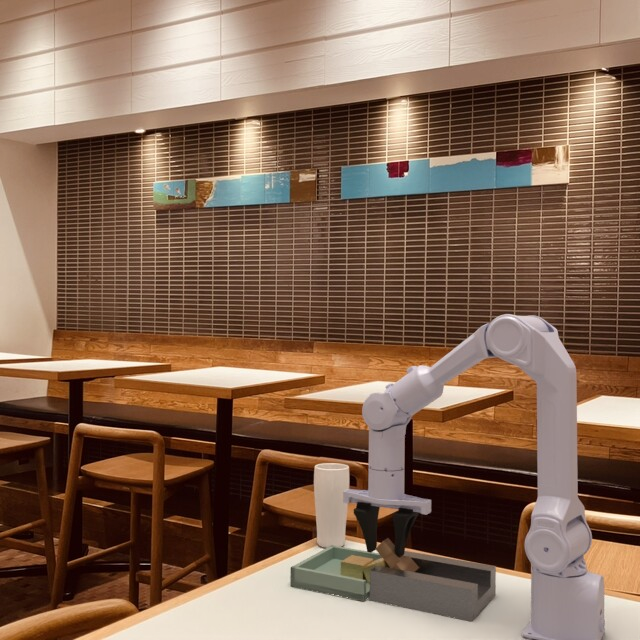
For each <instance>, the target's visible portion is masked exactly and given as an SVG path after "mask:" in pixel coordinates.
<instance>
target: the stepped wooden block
mask: <svg viewBox="0 0 640 640" xmlns="http://www.w3.org/2000/svg"><path fill="white" fill-rule="evenodd" d="M375 551H376V553H379V554H380V555H381V557H382V558H383V559H384V560H385V561H386V563H387V564H388V565H389V566H390V567H391V568H393V569H399V570H404V571H409V572H416V571H417V570H418V569H419V567H418V566H417V564H416V563H415V562H414V561H413V560H412V559H411V557H410V556H409V555H408V556H407V557H404V556H401V557H398V556H397V555H396V554H395V543H393V542H392V541H391V539H390V538H389V537H387V538H385V539H384V540H382V542H380V543H379V545H377V547H376V550H375Z"/></svg>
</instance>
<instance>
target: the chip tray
mask: <svg viewBox="0 0 640 640" xmlns="http://www.w3.org/2000/svg"><path fill="white" fill-rule="evenodd" d="M351 555H355V556H360V557H366V558H371V559H374V560H377V559H380V558H382V557H381V555H380V554H379V553H378V552H374V551H373V552H371V553H370V552H367V550H361V549H355V548H351V547H345V546H342V547H339V546H333V545H331V546H330V547H328V548H324V549H323V550H320V551H318V552H317V553H315V554H312V555H311V556H309V557H307V558H304V559H303V560H301V561H300V562H298V563H296V564H294V565H292V566H291V567H290V577H289V579H290V587H292V588H297V589H301V588H302V590H306V589H308V591H311V590H313V591H312V592H316V591H318V592H317V593H320V592H323V593H322V594H325V593H329V594H328V595H330V594H334V595H333V596H335V595H339V596H342V597H341V598H344V597H348V598H347V599H349V598H351V599H350V600H354V599H355V601H358V600H362V601H361V602H363V601H364V602H365V601H367V600H368V599H370V583H368V582H367V580H363V579H357V578H352V577H347V576H342V575H341V561H342V560H344V559H346V558H348V557H349V556H351ZM339 596H338V597H339ZM367 598H368V599H367ZM366 599H367V600H366Z"/></svg>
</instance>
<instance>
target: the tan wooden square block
mask: <svg viewBox="0 0 640 640" xmlns="http://www.w3.org/2000/svg"><path fill="white" fill-rule="evenodd" d="M372 561H374V559H371V558H366V557H360V556H355V555H351V556H349V557H348V558H346V559H344V560H342V561H341V575H342V576H347V577H352V578H357V579H363V580H366V577H365V574H364V572H363V569H362V568H363V567H364V566H366V565H367V564H369V563H370V562H372Z"/></svg>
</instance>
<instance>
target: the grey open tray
mask: <svg viewBox="0 0 640 640" xmlns="http://www.w3.org/2000/svg"><path fill="white" fill-rule="evenodd" d="M408 555H409V556H410V557H411V559H412V560H413V561H414V562H415V563H416V564H417V566H418V567H419V569H418V570H417V571H416V572H409V571H404V570H399V569H393V568H388V567H382V566H376V567H374V568H373V569H371V570H370V597H369V601H371V600H373V601H372V602H376V601H378V603H381V602H382V604H386V603H387V605H390V604H392V606H395V605H397V606H396V607H400V606H401V607H400V608H405V607H406V609H409V608H410V610H414V609H415V610H414V611H419V610H420V612H424V613H430V614H433V615H438V616H443V615H444V616H443V617H448V616H450V617H449V618H453V617H455V618H454V619H457V618H460V619H459V620H462V619H463V620H462V621H467V622H473V620H475V618H476V617H478V615H479V614H480V613H481V612H482V611H483V610H484V609H485V608H486V606H487V605H488V604H489V603H490V602H491V601H492V600H493V599H494V597H495V596H496V588H497V587H496V578H497V577H496V576H497V573H496V572H497V570H496V569H497V565H491V564H485V563H479V562H474V561H468V560H462V559H455V558H448V557H444V556H438V555H433V554H431V555H430V554H427V553H426V554H425V553H421V552H414V551H410V550H409V551H408V550H405V552H404V555H403V556H404V557H407V556H408Z"/></svg>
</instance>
